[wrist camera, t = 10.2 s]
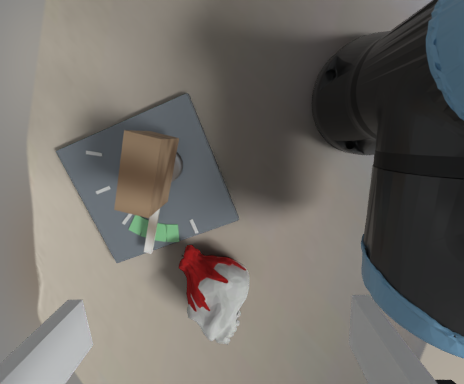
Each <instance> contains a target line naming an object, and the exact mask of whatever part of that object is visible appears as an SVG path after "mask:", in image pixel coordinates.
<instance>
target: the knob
mask: <svg viewBox="0 0 464 384" xmlns="http://www.w3.org/2000/svg"><path fill="white" fill-rule="evenodd" d="M178 142H179V138H176V137H172V136H168V135H164V134H160V133H156V132H152V131H134V130H124V136H123V144H122V152H121V160H120V168H119V176H118V184H117V192H116V200H115V208H114V210H117V211H121V212H125V213H129V214H133V215H138V216H142V217H146V218H149V223H148V229H147V235H146V241H145V247H144V252H145V253H149V254H151V253H152V252H153V247H154V241H155V235H156V230H157V224H158V218H159V212H160V208H161V207H162V206H163V205H164V204H165V203H167V202H168V197H169V192H170V186H171V182H173V181H174V180H176V179H177V178H178V177H179V176H180V175H181V173H182V171H183V161H182V158H181V156H180V155H179V153H178V152H177V148H178Z"/></svg>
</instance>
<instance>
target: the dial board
mask: <svg viewBox="0 0 464 384" xmlns="http://www.w3.org/2000/svg"><path fill="white" fill-rule="evenodd" d="M124 130H134V131H152V132H156V133H160V134H164V135H168V136H172V137H176V138H179V142H178V148H177V152H178V153H179V155H180V156H181V158H182V161H183V171H182V173H181V175H180V176H179V177H178V178H177V179H176V180H174V181H173V182H171V186H170V192H169V197H168V202H167V203H165V204H164V205H163V206H162V207H161V208H160V212H159V218H158V224H157V230H156V235H155V241H154V247H153V250H156V249H158V248H161V247H164V246H167V245H170V244H173V243H175V242H179V241H181V240H184V239H187V238H189V237H192V236H195V235H198V234H201V233H204V232H206V231H209V230H212V229H215V228H218V227H221V226H223V225H226V224H229V223H232V222H235V221H237V220H239V217H238V214H237V212H236V209H235V207H234V204H233V202H232V199H231V197H230V194H229V192H228V189H227V187H226V185H225V182H224V180H223V177H222V175H221V172H220V170H219V167H218V165H217V162H216V160H215V157H214V155H213V153H212V150H211V148H210V145H209V143H208V140H207V138H206V135H205V133H204V130H203V128H202V126H201V123H200V121H199V118H198V116H197V113H196V111H195V108H194V106H193V103H192V101H191V98H190V96H189V94H187V93H186V94H184V95H181V96H179V97H177V98H175V99H172V100H170V101H168V102H166V103H163V104H161V105H159V106H157V107H154V108H152V109H150V110H148V111H145V112H143V113H141V114H139V115H136V116H134V117H132V118H130V119H127V120H125V121H123V122H121V123H118V124H116V125H114V126H112V127H109V128H107V129H105V130H102V131H100V132H98V133H96V134H93V135H91V136H89V137H87V138H84V139H82V140H80V141H78V142H75V143H73V144H71V145H69V146H66V147H64V148H62V149H60V150H57V151H56V153H57V154H58V156H59V158H60V160H61V162H62V164H63V165H64V167H65V169H66V171H67V173H68V175H69V176H70V178H71V180H72V182H73V184H74V186H75V188H76V189H77V191H78V193H79V195H80V197H81V199H82V200H83V202H84V204H85V206H86V208H87V210H88V211H89V213H90V215H91V217H92V219H93V221H94V222H95V224H96V226H97V228H98V230H99V232H100V233H101V235H102V237H103V239H104V241H105V243H106V244H107V246H108V248H109V250H110V252H111V254H112V255H113V257H114V259H115V261H116V263H119V262H122V261H125V260H127V259H130V258H133V257H136V256H139V255H142V254H144V253H145V252H144V247H145V241H146V235H147V229H148V223H149V218H146V217H142V216H138V215H133V214H129V213H125V212H121V211H117V210H114V208H115V200H116V192H117V184H118V176H119V168H120V160H121V152H122V144H123V136H124Z"/></svg>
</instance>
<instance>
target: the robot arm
mask: <svg viewBox="0 0 464 384" xmlns="http://www.w3.org/2000/svg"><path fill="white" fill-rule="evenodd" d="M312 113H313V118H314V121H315V124H316V126H317V128H318V130H319V132H320V133H321V135H322V136H323V137H324V138H325V140H326V141H327V142H329V143H330V144H331V145H332V146H334V147H336V148H337V149H339V150H342V151H344V152H348V153H353V154H359V155H374V164H373V168H372V176H371V184H370V193H369V201H368V209H367V218H366V225H365V232H364V234H363V236H362V241H361V249H362V278H363V281H364V284H365V286H366V288H367V289H368V290H369V292H370V293H371V296H372V298H373V299H374V301H375V302H376V303H377V304H378V306H379V307H380V308H381V309H382V310H383V311H384V312H385V313H386V314H387V315H388V316H389V317H391V318H392V319H393V320H394V321H395V322H397V323H398V324H399V325H400V326H402V327H403V328H405V329H406V330H408V331H409V332H410V333H412V334H414V335H415V336H417V337H418V338H420V339H422V340H423V341H425V342H427V343H429V344H431V345H433V346H435V347H437V348H439V349H441V350H443V351H445V352H448V353H450V354H452V355H455V356H458V357H461V358H464V0H433V1H431V2H430V3H428V4H427V5H426V6H424V7H423V8H422V9H420V10H419V11H417V12H416V13H415V14H413V15H412V16H410V17H409V18H408V19H406V20H405V21H404V22H402V23H401V24H399V25H398V26H397V27H395V28H394V29H392V30H391V31H387V32H378V33H373V34H369V35H365V36H363V37H360V38H358V39H356V40H354V41H352V42H350V43H349V44H347V45H346V46H345V47H343V48H342V49H341V50H340V51H338V52H337V53H336V54H335V55H334V56H333V57H332V58H331V59H330V60H329V61H328V62H327V63H326V65H325V66H324V68H323V69H322V71H321V72H320V74H319V76H318V78H317V81H316V83H315V86H314V90H313V95H312ZM372 298H371V297H370V296H369V295H352V303H351V318H350V334H349V345H350V347H351V349H352V351H353V353H354V355H355V357H356V359H357V361H358V363H359V365H360V368H361V370H362V372H363V374H364V376H365V378H366V380H367V382H368V384H456V383H455V382H453V381H452V380H434V378H433V377H432V376H431V374H430V373H429V372H428V371H427V369H426V368H425V367H424V365H423V364H422V363H421V362H420V360H419V359H418V358H417V356H416V355H415V354H414V352H413V351H412V350H411V349H410V347H409V346H408V345H407V343H406V342H405V341H404V339H403V338H402V337H401V336H400V334H399V333H398V332H397V330H396V329H395V328H394V327H393V325H392V324H391V323H390V321H389V320H388V319H387V318H386V316H385V315H384V314H383V312H382V311H381V310H380V308H379V307H378V306H377V305H376V303H375V302H374V301H373V299H372ZM92 346H93V342H92V338H91V333H90V329H89V325H88V321H87V316H86V312H85V308H84V303H83V300H67V301H66V302H65V303H64V304H63V305H62V306H61V307H60V308H59V309H58V310H57V311H56V312H55V313H53V314H52V315H51V316H50V317H49V318H48V319H47V320H46V321H45V322H44V323H43V324H42V325H41V326H40V327H39V328H37V329H36V331H34V332H33V333H32V334H31V335H30V336H29V337H28V338H27V339H26V340H25V341H23V342H22V344H20V345H19V346H18V347H17V348H16V349H15V350H14V351H13V352H12V353H11V354H10V355H9V356H7V357H6V359H4V360H3V361H2V362H1V363H0V384H65V383H66V382H67V380H68V379H69V378H70V376H71V375H72V374H73V372H74V371H75V369H76V368H77V367H78V365H79V364H80V362H81V361H82V360H83V358H84V357H85V356H86V354H87V353H88V351H89V350H90V349H91V347H92Z"/></svg>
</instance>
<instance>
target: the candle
mask: <svg viewBox="0 0 464 384" xmlns="http://www.w3.org/2000/svg"><path fill="white" fill-rule="evenodd" d="M182 256H183V257H184V258H183V259H182V260H181V261H180V264H179V269H181V270H182V271H183V272H184V273H185V275H186V277H187V299H188V308H187V313H188V317H189V318H190V319H192V320H194V321H196V322H197V323H198V324H199V326H200V327H201V329H202V331H203V333H204V335H205V336H206V337H207V338H208V339H209V340H210V341H213V340H214V339H215V340H216V342H217V343H224V344H227V345H228V344H229V343H228V342H230V338H229V337H233V335H234V333H233V332H235V331H236V330H237V327H236V326H239V320H238V319H237V320H236V318H239V316H240V315H241V312H240V310H239V309H240V307H241V306H242V304H243V302H244V301H245V299H246V297H247V294H248V290H249V273H248V270H247V269H246V267H245V266H244V265H243V264H241V263H239V262H237V261H235V260H233V259H231V258H228V257H217V256H213V255H209V256H205V255H202V254H201V252H200V251H199V250H198V249H195V248H194V247H193V245H187V246H186V249H185V253H184V255H182Z"/></svg>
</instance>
